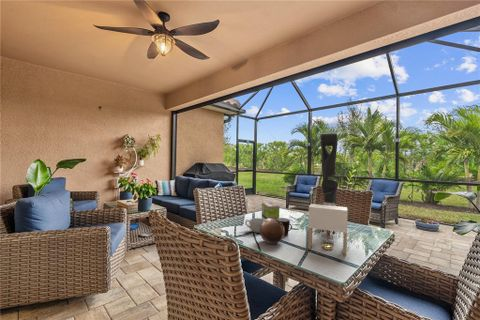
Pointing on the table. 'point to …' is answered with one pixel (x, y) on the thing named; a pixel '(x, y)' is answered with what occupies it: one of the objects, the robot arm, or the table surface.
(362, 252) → the table surface
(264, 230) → the wooden sphere
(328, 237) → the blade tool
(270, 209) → the tea box
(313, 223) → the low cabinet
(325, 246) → the brass puck
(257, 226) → the teacup
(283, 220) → the coffee mug
